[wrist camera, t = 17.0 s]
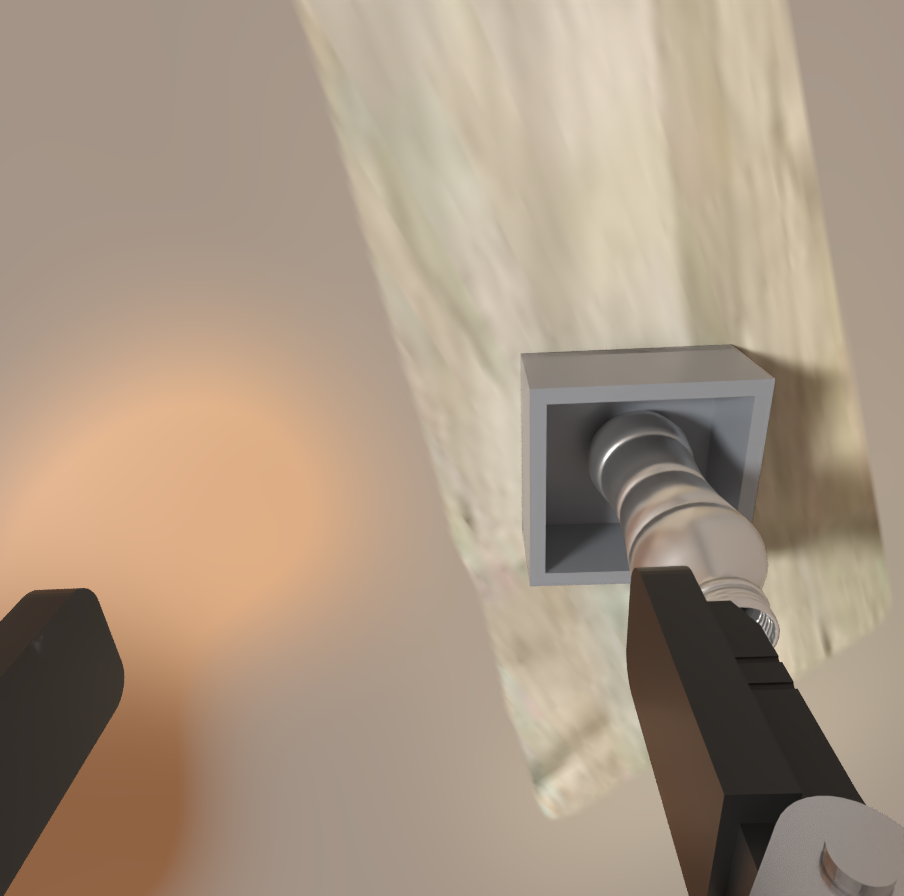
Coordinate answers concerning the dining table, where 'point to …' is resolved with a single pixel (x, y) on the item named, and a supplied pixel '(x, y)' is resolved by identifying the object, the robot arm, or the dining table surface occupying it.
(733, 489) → the box
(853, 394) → the dining table surface
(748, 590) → the plastic bottle
